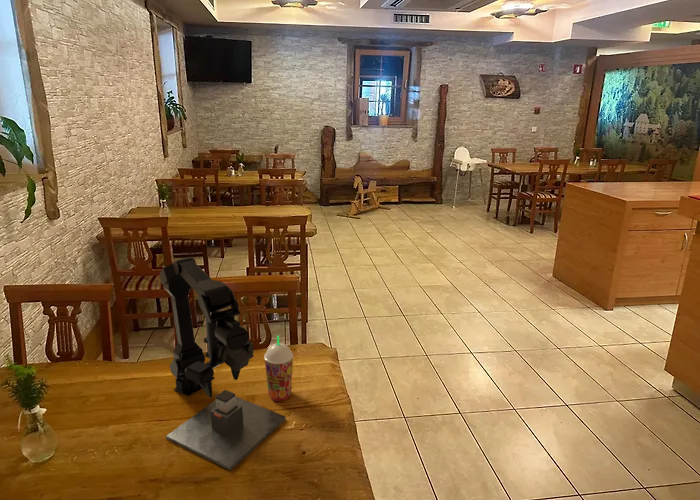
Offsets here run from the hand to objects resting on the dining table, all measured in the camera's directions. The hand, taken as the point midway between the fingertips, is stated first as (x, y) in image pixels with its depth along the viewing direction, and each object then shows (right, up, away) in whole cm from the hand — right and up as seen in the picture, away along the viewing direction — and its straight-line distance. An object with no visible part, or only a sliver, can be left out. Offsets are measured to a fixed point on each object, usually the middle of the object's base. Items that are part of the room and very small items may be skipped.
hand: (223, 388), depth 124 cm
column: (0, -11, +4) cm, 12 cm away
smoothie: (+12, -8, +19) cm, 24 cm away
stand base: (0, -12, +4) cm, 13 cm away
